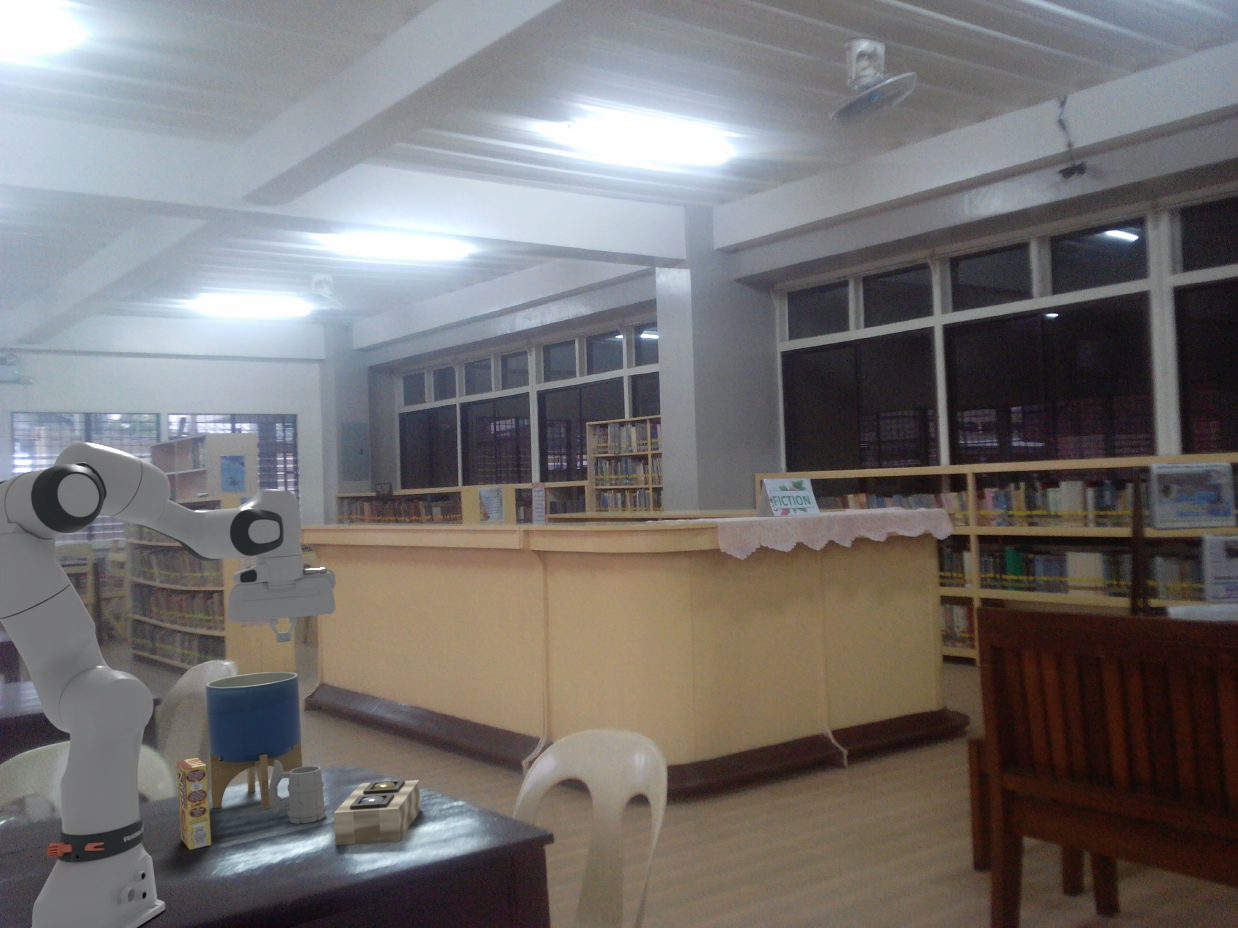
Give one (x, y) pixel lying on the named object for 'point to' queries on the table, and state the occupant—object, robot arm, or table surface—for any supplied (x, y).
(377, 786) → the peg
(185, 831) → the candy box
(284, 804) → the mug
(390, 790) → the socket block
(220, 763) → the planter
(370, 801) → the peg
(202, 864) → the table surface
